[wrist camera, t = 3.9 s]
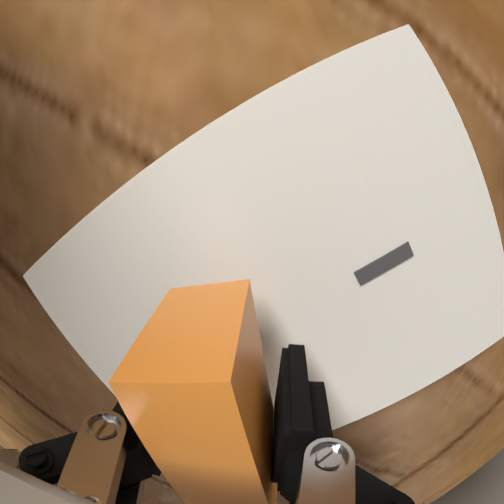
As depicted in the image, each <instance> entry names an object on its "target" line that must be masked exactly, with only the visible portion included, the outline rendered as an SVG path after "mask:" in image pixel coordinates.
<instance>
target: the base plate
mask: <svg viewBox="0 0 504 504" xmlns="http://www.w3.org/2000/svg"><path fill="white" fill-rule="evenodd" d="M23 277H24V279H25V281H26V282H27V284H28V285H29V287H30V288H31V290H32V291H33V293H34V295H35V296H36V297H37V299H38V300H39V302H40V303H41V305H42V306H43V308H44V309H45V311H46V312H47V313H48V315H49V316H50V318H51V319H52V320H53V322H54V323H55V324H56V326H57V327H58V328H59V330H60V331H61V332H62V334H63V335H64V336H65V338H66V339H67V340H68V342H69V343H70V344H71V345H72V347H73V348H74V349H75V350H76V352H77V353H78V354H79V355H80V356H81V358H82V359H83V360H84V361H85V362H86V364H87V365H88V366H89V367H90V368H91V369H92V371H93V372H94V373H95V374H96V375H97V376H98V377H99V379H100V380H101V381H102V382H103V383H104V384H105V385H106V386H107V387H108V388H109V390H110V391H111V392H112V393H113V394H114V392H113V390H112V388H111V386H110V384H109V380H110V378H111V377H112V375H113V374H114V372H115V371H116V369H117V368H118V366H119V364H120V363H121V361H122V360H123V358H124V357H125V355H126V354H127V352H128V351H129V349H130V347H131V346H132V344H133V343H134V341H135V340H136V338H137V337H138V335H139V334H140V332H141V331H142V329H143V328H144V326H145V325H146V323H147V322H148V320H149V319H150V317H151V316H152V314H153V313H154V311H155V310H156V308H157V307H158V305H159V304H160V303H161V301H162V300H163V298H164V297H165V295H166V294H167V292H168V291H169V289H170V288H179V287H188V286H196V285H205V284H213V283H222V282H230V281H238V280H246V279H250V284H251V290H252V295H253V300H254V306H255V311H256V317H257V322H258V327H259V333H260V338H261V343H262V349H263V354H264V359H265V365H266V370H267V375H268V381H269V386H270V391H271V396H272V402H273V407H274V402H275V395H276V388H277V381H278V374H279V367H280V360H281V353H282V348H288V345H289V344H297V345H304V346H305V354H306V362H307V371H308V380H309V381H318V382H324V384H325V389H326V395H327V402H328V408H329V414H330V421H331V427H332V430H334V429H337V428H339V427H342V426H344V425H347V424H349V423H352V422H354V421H356V420H359V419H361V418H363V417H365V416H368V415H370V414H372V413H374V412H376V411H379V410H381V409H383V408H385V407H387V406H389V405H391V404H393V403H395V402H397V401H399V400H401V399H403V398H405V397H407V396H409V395H411V394H413V393H415V392H417V391H418V390H420V389H422V388H424V387H426V386H428V385H429V384H431V383H433V382H435V381H436V380H438V379H440V378H442V377H443V376H445V375H447V374H448V373H450V372H452V371H453V370H455V369H456V368H458V367H460V366H461V365H463V364H464V363H466V362H467V361H469V360H471V359H472V358H474V357H475V356H477V355H478V354H480V353H481V352H482V351H484V350H485V349H487V348H488V347H490V346H491V345H492V344H494V343H495V342H497V341H498V340H499V339H501V338H502V337H503V336H504V252H503V247H502V242H501V238H500V233H499V229H498V225H497V221H496V217H495V213H494V210H493V206H492V203H491V199H490V196H489V192H488V189H487V186H486V183H485V180H484V177H483V174H482V171H481V168H480V165H479V162H478V160H477V157H476V154H475V152H474V149H473V146H472V144H471V141H470V139H469V136H468V134H467V132H466V129H465V127H464V125H463V122H462V120H461V118H460V115H459V113H458V111H457V109H456V107H455V105H454V103H453V101H452V98H451V96H450V94H449V92H448V90H447V88H446V87H445V85H444V83H443V81H442V79H441V77H440V75H439V73H438V71H437V70H436V68H435V66H434V64H433V63H432V61H431V59H430V57H429V56H428V54H427V52H426V51H425V49H424V47H423V46H422V44H421V43H420V41H419V39H418V38H417V36H416V35H415V33H414V32H413V30H412V29H411V27H410V26H409V24H408V25H405V26H402V27H400V28H397V29H394V30H392V31H389V32H386V33H384V34H381V35H379V36H376V37H374V38H372V39H369V40H367V41H364V42H362V43H360V44H357V45H355V46H353V47H350V48H348V49H346V50H344V51H342V52H339V53H337V54H335V55H333V56H331V57H329V58H326V59H324V60H322V61H320V62H318V63H316V64H314V65H312V66H310V67H308V68H306V69H304V70H302V71H300V72H298V73H296V74H294V75H292V76H291V77H289V78H287V79H285V80H283V81H281V82H279V83H277V84H276V85H274V86H272V87H270V88H268V89H267V90H265V91H263V92H261V93H260V94H258V95H256V96H254V97H253V98H251V99H249V100H247V101H246V102H244V103H242V104H241V105H239V106H237V107H236V108H234V109H232V110H231V111H229V112H227V113H226V114H224V115H223V116H221V117H219V118H218V119H216V120H215V121H213V122H212V123H210V124H208V125H207V126H205V127H204V128H202V129H201V130H199V131H198V132H196V133H195V134H193V135H192V136H190V137H189V138H187V139H186V140H184V141H183V142H181V143H180V144H179V145H177V146H176V147H174V148H173V149H171V150H170V151H169V152H167V153H166V154H164V155H163V156H162V157H160V158H159V159H157V160H156V161H155V162H153V163H152V164H151V165H149V166H148V167H146V168H145V169H144V170H142V171H141V172H140V173H139V174H137V175H136V176H135V177H133V178H132V179H131V180H129V181H128V182H127V183H126V184H124V185H123V186H122V187H120V188H119V189H118V190H117V191H115V192H114V193H113V194H112V195H111V196H109V197H108V198H107V199H106V200H104V201H103V202H102V203H101V204H100V205H98V206H97V207H96V208H95V209H94V210H92V211H91V212H90V213H89V214H88V215H87V216H85V217H84V218H83V219H82V220H81V221H80V222H79V223H77V224H76V225H75V226H74V227H73V228H72V229H71V230H70V231H68V232H67V233H66V234H65V235H64V236H63V237H62V238H61V239H60V240H59V241H58V242H56V243H55V244H54V245H53V246H52V247H51V248H50V249H49V250H48V251H47V252H46V253H45V254H44V255H43V256H42V257H41V258H40V259H39V260H38V261H37V262H36V263H35V264H34V265H33V266H32V267H31V268H30V269H29V270H28V271H27V272H26V273H25V274H24V275H23ZM114 395H115V394H114Z"/></svg>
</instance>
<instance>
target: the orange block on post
mask: <svg viewBox="0 0 504 504" xmlns="http://www.w3.org/2000/svg"><path fill="white" fill-rule="evenodd" d="M109 384H110V386H111V388H112V390H113V392H114V394H115V396H116V398H117V400H118V402H119V404H120V405H121V407H122V409H123V411H124V413H125V414H126V416H127V418H128V420H129V422H130V423H131V425H132V427H133V428H134V430H135V432H136V433H137V435H138V437H139V438H140V440H141V442H142V443H143V445H144V447H145V448H146V450H147V451H148V453H149V454H150V456H151V457H152V459H153V461H154V462H155V464H156V465H157V467H158V468H159V469H160V471H161V472H162V474H163V475H164V477H165V478H166V480H167V481H168V482H169V484H170V485H171V487H172V488H173V489H174V491H175V492H176V493H177V495H178V496H179V497H180V499H181V500H182V501H183V503H184V504H277V483H272V482H271V479H272V453H273V422H274V407H273V402H272V396H271V391H270V386H269V381H268V375H267V370H266V365H265V359H264V354H263V349H262V343H261V338H260V333H259V327H258V322H257V317H256V311H255V306H254V300H253V295H252V290H251V284H250V279H246V280H238V281H230V282H222V283H213V284H205V285H196V286H188V287H179V288H170V289H169V291H168V292H167V294H166V295H165V297H164V298H163V300H162V301H161V303H160V304H159V305H158V307H157V308H156V310H155V311H154V313H153V314H152V316H151V317H150V319H149V320H148V322H147V323H146V325H145V326H144V328H143V329H142V331H141V332H140V334H139V335H138V337H137V338H136V340H135V341H134V343H133V344H132V346H131V347H130V349H129V351H128V352H127V354H126V355H125V357H124V358H123V360H122V361H121V363H120V364H119V366H118V368H117V369H116V371H115V372H114V374H113V375H112V377H111V378H110V380H109Z"/></svg>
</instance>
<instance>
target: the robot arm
mask: <svg viewBox="0 0 504 504" xmlns="http://www.w3.org/2000/svg"><path fill="white" fill-rule="evenodd" d="M152 474H153V475H158V476H160V474H161V471H160V469H159V468H158V467H157V465H156V464H155V462H154V461H153V459H152V457H151V456H150V454H149V453H148V451H147V450H146V448H145V447H144V445H143V443H142V442H141V440H140V438H139V437H138V435H137V433H136V432H135V430H134V428H133V427H132V425H131V423H130V422H129V420H128V418H127V416H126V414H125V413H124V411H123V409H122V407H121V405H120V404H119V402H117V404H116V405H115V407H114V409H113V411H111V410H99V411H95V412H93V413H90V414H89V415H88V416H86V417H85V419H84V420H83V422H82V424H81V426H80V428H79V431H78V432H76V433H72V434H69V435H66V436H62V437H59V438H55V439H52V440H48V441H45V442H41V443H37V444H33V445H31V446H28V447H27V448H25V449H24V450H23V451H22V452H19V451H18V449H0V504H141V501H142V496H143V490H144V484H145V479H148V478H150V477H151V476H152ZM271 482H272V483H277V491H280V494H281V495H282V496H283V497H284V498H285V499H287V500H288V504H415V503H414V502H413V500H412V499H411V498H410V497H409V496H407V495H406V494H404V493H402V492H401V491H399V490H397V489H395V488H394V487H392V486H390V485H388V484H387V483H385V482H383V481H382V480H380V479H378V478H377V477H375V476H373V475H372V474H370V473H368V472H367V471H365V470H363V469H362V468H360V467H359V466H357V465H355V455H354V451H353V450H352V448H351V447H350V446H349V445H348V444H347V443H345V442H344V441H341V440H339V439H335V438H333V434H332V427H331V421H330V414H329V408H328V402H327V395H326V389H325V384H324V382H318V381H309V380H308V371H307V362H306V354H305V346H304V345H297V344H289V345H288V348H282V353H281V360H280V367H279V374H278V381H277V388H276V395H275V402H274V422H273V453H272V479H271ZM423 504H425V503H423Z"/></svg>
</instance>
